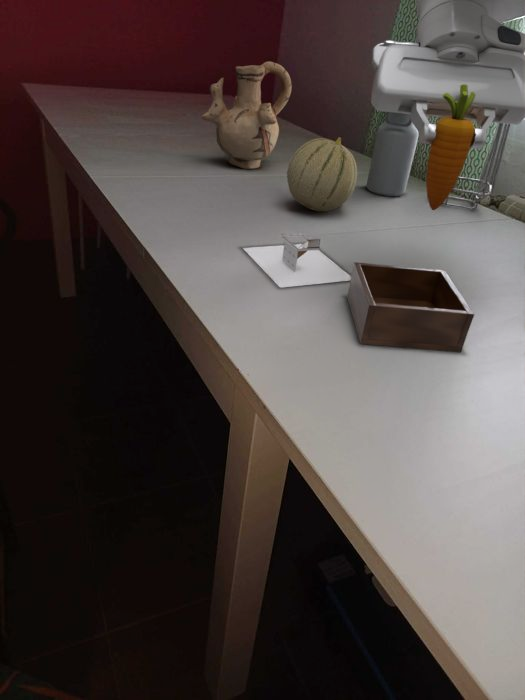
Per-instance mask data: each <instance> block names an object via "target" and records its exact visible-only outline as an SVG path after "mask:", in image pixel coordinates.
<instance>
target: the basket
mask: <svg viewBox="0 0 525 700" xmlns="http://www.w3.org/2000/svg"><path fill="white" fill-rule="evenodd" d="M350 276H351V280H350V281H349V285H348V291H347V297H346V299H347V301H348V304H349V309H350V312H351V316H352V320H353V322H354V326H355V329H356V334H357V337H358V341H359V343H360V345H371V346H381V347H394V348H405V349H417V350H430V351H441V352H442V351H443V352H452V353H462V351H463V347H464V344H465V343H466V339H467V337H468V333H469V331H470V328H471V325H472V322H473V319H474V316H475V313H474V312H473V310H472V309H471V308H470V306H469V304H468V303H467V302H466V300H465V298H464V297H463V295H462V294H461V293H460V291H459V290H458V288H457V287H456V285H455V284H454V282H453V280H451V278H450V277H449V275H448V274H447V272H446V271H445V270H443V269H434V268H433V269H431V268H422V267H410V266H401V265H399V266H398V265H390V264H389V265H388V264H379V263H378V264H377V263H368V262H356V261H354V262H353V266H352V270H351V275H350Z"/></svg>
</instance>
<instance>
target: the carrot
mask: <svg viewBox="0 0 525 700" xmlns="http://www.w3.org/2000/svg"><path fill="white" fill-rule="evenodd" d="M475 95H476V94H475V93H474V92H471V94H470V96H469V98H468V86H467V85H465V84H463V85H460V102H458V101H455V102H454V99H453V97H452V96H451V95H450V94H448V93H445V94H443V98H445V99H446V100H447V101H448V103H449V105H450V107H451V110H452V117H441V118H440V119H439V120H438V121H437V123H436V130H435V132H436V138H435V140H434V141H433V143H432V144H430V149H429V155H428V160H427V167H426V169H427V170H426V185H425V186H426V195H427V200H428V205H429V207H430V209H431V211H435V210H437V209H439V208H440V206H441V205H443V204H442V203H445V202H446V199H447V197H448V196H450V194H451V192H452V191H453V190H452V189H453V188H454V187H455V185H456V183H457V181H458V180H459V179H458V177H460V175H461V173H462V171H463V169H464V165H465V162H466V159H467V157H468V154H469V151H470V149H471V148H470V145H471V141H472V138H473V135H474V129H475V125H474V123H473V122H472V120H467V119H464V118H463V117H464V115H465V113H466V112H467V110H468V109H469V107H470V106H471V104H472V102H473V100H474V98H475Z"/></svg>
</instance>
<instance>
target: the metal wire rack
mask: <svg viewBox="0 0 525 700" xmlns="http://www.w3.org/2000/svg"><path fill="white" fill-rule="evenodd" d="M510 128H511V124H503V123H498V127H497V130H496V133H495V136H494V138H493V139H494V140H493V141H492V145H491V149H490V151H489V154H488V157H487V161H486V164H485V167H484V170H483V173H482V176H481V179H475V178H470V177H464V176H459V177H458V179H457V180H464V181H469V182H474V183H477V184H476V186H475V187H474V188H473V190H467V189H460V188H456V187H455V188H454V187H453V189H452V191H454V192H457V193H463V194H469V197H468V198H463V197H457V196H451V195H448V197H447V198H446V199H445V202H443V203H442V204H441V205H444V206H449V207H455V208H462V209H469V210H476V209H477V208H478V205H479V202H480V201H482V200H484V199H485V198H487V197H488V196H492V195H493V193H494V188H495V186H496V181H497V177H498V172H499V169H500V165H501V162H502V158H503V154H504V150H505V148H506V147H505V146H506V142H507V139H508V135H509V130H510ZM501 134H502V135H501ZM497 149H498V150H497ZM495 157H496V158H495ZM494 160H495V162H494ZM492 168H493V169H492ZM490 176H491V177H490ZM485 177H486V179H485ZM489 180H490V181H489ZM481 183H482V184H484V186H483V188H481V189H479V190H477V189H478V188H479V186H480V184H481ZM487 188H489V189H488V190H489V192H487V191H486V190H487ZM476 190H477V191H476ZM475 191H476V192H475ZM480 192H482V193H480ZM486 192H487V193H486ZM449 199H453V200H458V201H466V202H471V203H472V207H471V206H465V205H459V204H458V205H457V204H453V203H448V201H449ZM475 199H476V200H475Z"/></svg>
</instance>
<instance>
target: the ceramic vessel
mask: <svg viewBox="0 0 525 700" xmlns="http://www.w3.org/2000/svg"><path fill="white" fill-rule="evenodd" d="M268 73H271V74H274V75H275V76H277V78H278V79H279V80H280V83H281V91H280V93H279V95H278V98H277V100H276V101H275V103H274V104H273V105H272V103H271V102H264V103H262V100H261V98H262V91H261V83H262V81H263V80H264V77H265V76H267V74H268ZM235 74H236V82H237V91H236V95H235V98H234V101H233V104H232V106H231V109H228V108H227V106H226V104H225V102H224V100H223V97H224V96H223V95H224V94H223V86H224V82H225V78H224V77H221V78H220V79H219V80H218V81H217V83H212V84H211V85H210V86H209V92H210V93H209V94H210V95H211V96H212V101H211V105H210V107H209V108H208V110H207V111H206V112H205V113H203V114H202V115H201V119H202V120H204V121H207V122H210V123H213V124H214V125H216V127H215V128H216V129H215V131H216V133H215V135H216V142H217V145H218V147H219V149H220V150H221V152H224V153H225V154H227V155H228V163H230V164H231V165H233V166H236V167H239V168H241V169H246V170H249V169H250V170H251V169H252V170H253V169H258V168H259V167H261V162H262V159H265V158H267V157H268V156H270V154H271V153H272V151H273V150H274V148H275V147H276V145H277V141H278V137H279V133H280V128H279V127H280V126H279V124H278V120H277V115H279V114H280V112H281V111H282V110H283V109H284V107H285V106H286V105H287V103H288V101H289V100H290V97H291V94H292V89H293V88H292V87H293V86H292V85H293V84H292V80H291V77H290V74H289V72H288V71H287V70H286V69H285V67H283V65H281V64H279V63H276V62H275V61H270V60H269V61H265V62H263V63H262V64H260V65H256V64H255V65H254V64H251V65H243V66H241V65H240V66H239V65H237V66H235Z"/></svg>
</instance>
